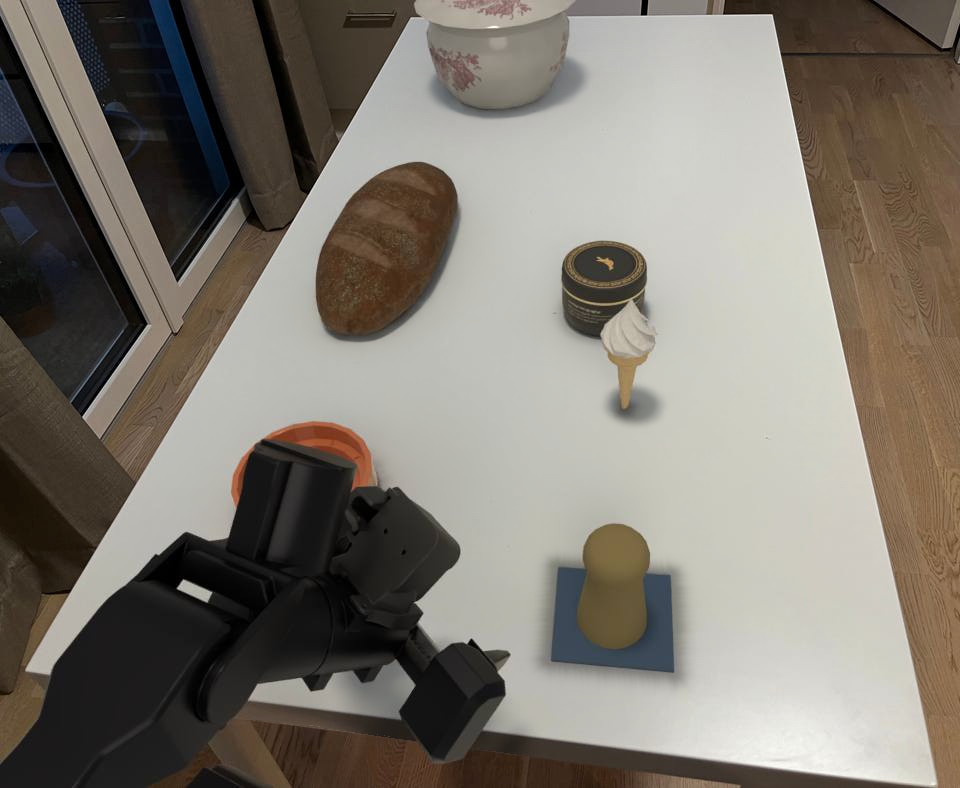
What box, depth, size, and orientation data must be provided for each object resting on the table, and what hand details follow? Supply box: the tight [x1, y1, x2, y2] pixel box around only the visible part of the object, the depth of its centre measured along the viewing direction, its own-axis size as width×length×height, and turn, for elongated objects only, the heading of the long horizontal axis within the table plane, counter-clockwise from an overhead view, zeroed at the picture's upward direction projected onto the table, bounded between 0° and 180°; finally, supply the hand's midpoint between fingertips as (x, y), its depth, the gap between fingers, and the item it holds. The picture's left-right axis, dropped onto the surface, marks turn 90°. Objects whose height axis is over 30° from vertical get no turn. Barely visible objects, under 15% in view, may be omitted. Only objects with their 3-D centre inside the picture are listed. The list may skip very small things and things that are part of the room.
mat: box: [550, 566, 675, 673], centre depth 68 cm, size 10×9×1 cm
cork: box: [576, 522, 651, 650], centre depth 64 cm, size 6×6×11 cm
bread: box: [315, 161, 459, 336], centre depth 107 cm, size 16×36×8 cm, turn 168°
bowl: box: [230, 420, 379, 509], centre depth 79 cm, size 14×14×4 cm
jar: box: [560, 240, 648, 337], centre depth 95 cm, size 10×10×8 cm
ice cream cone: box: [600, 299, 659, 410], centre depth 81 cm, size 6×6×15 cm
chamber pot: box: [413, 0, 577, 110], centre depth 137 cm, size 28×28×21 cm
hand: (466, 612), depth 58 cm, fingers open, 9 cm apart
